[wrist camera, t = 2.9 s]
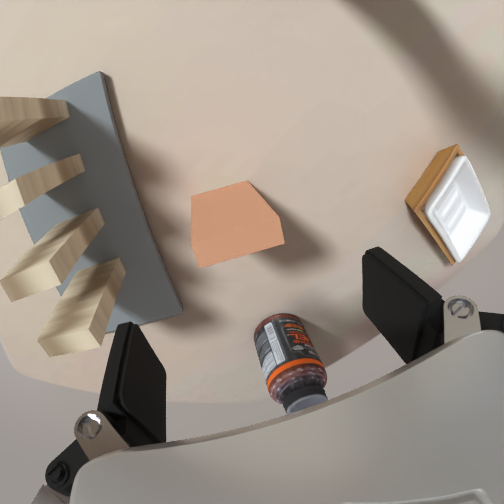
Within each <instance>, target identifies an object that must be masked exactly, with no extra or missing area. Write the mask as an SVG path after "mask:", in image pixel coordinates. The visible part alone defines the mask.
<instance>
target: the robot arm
mask: <svg viewBox="0 0 504 504" xmlns="http://www.w3.org/2000/svg"><path fill="white" fill-rule="evenodd" d="M362 274H363V310H364V313H365V314H366V315H367V317H368V318H369V319H370V320H371V321H372V323H373V324H374V325H375V326H376V327H377V329H378V330H379V331H380V332H381V334H382V335H383V336H384V337H385V338H386V340H387V341H388V342H389V343H390V345H391V346H392V347H393V348H394V349H395V351H396V352H397V353H398V355H399V356H400V357H401V358H402V359H403V361H404V362H405V363H406V365H405V366H402V367H401V368H399V369H397V370H395V371H393V372H391V373H389V374H387V375H385V376H383V377H381V378H379V379H376V380H374V381H372V382H370V383H368V384H366V385H363V386H361V387H359V388H357V389H354V390H352V391H350V392H347V393H345V394H342V395H340V396H338V397H335V398H333V399H330V400H327V401H325V402H322V403H319V404H317V405H314V406H311V407H308V408H306V409H303V410H300V411H297V412H294V413H291V414H288V415H285V416H281V417H278V418H275V419H271V420H268V421H265V422H261V423H258V424H254V425H250V426H246V427H242V428H239V429H234V430H230V431H225V432H221V433H217V434H211V435H206V436H201V437H195V438H189V439H185V440H178V441H172V442H166V371H165V369H164V367H163V365H162V364H161V362H160V361H159V359H158V357H157V356H156V354H155V353H154V351H153V349H152V348H151V346H150V344H149V343H148V341H147V339H146V338H145V336H144V334H143V333H142V331H141V329H140V328H139V326H138V325H137V324H133V323H132V322H131V321H130V322H126V323H122V324H119V325H118V326H117V328H116V332H115V336H114V339H113V343H112V347H111V350H110V354H109V358H108V362H107V366H106V371H105V375H104V379H103V384H102V388H101V393H100V398H99V403H98V408H97V411H96V410H91V411H88V412H85V413H84V414H82V415H81V416H80V417H79V418H78V420H77V421H76V423H75V427H74V434H75V437H76V440H75V441H74V442H73V443H72V444H71V445H69V447H67V448H66V449H65V450H64V451H63V452H62V453H61V454H60V455H59V456H58V457H56V458H55V459H54V460H53V461H52V462H51V463H50V464H49V465H48V467H47V469H46V474H45V478H46V482H47V485H46V486H45V485H42V487H41V488H40V490H39V492H38V494H37V495H36V497H35V498H34V501H33V502H32V504H504V314H496V313H487V312H478V308H477V305H476V304H475V303H474V301H472V300H471V299H469V298H467V297H465V296H453V297H450V298H448V299H447V300H446V301H444V300H442V299H441V298H442V296H441V295H440V294H439V293H438V292H436V291H435V290H434V289H433V288H432V287H430V286H429V285H428V284H427V283H425V282H424V281H423V280H422V279H421V278H419V277H418V276H417V275H416V274H414V273H413V272H412V271H410V270H409V269H408V268H407V267H405V266H404V265H403V264H401V263H400V262H399V261H398V260H396V259H395V258H394V257H392V256H391V255H390V254H388V253H387V252H386V251H384V250H383V249H382V248H380V247H375V248H372V249H369V250H367V251H366V252H365V255H363V257H362Z"/></svg>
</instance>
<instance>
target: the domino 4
mask: <svg viewBox="0 0 504 504" xmlns="http://www.w3.org/2000/svg"><path fill="white" fill-rule="evenodd" d="M125 274H126V270H125V268H124V266H123V264H122V262H121V260H120V258H119V257H118V258H115V259H112V260H109V261H106V262H103V263H100V264H97V265H94V266H91V267H88V268H85V269H82V270H79V271H77V272H76V274H75V275H74V277H73V278H72V280H71V282H70V283H69V285H68V287H67V288H66V290H65V291H64V293H63V295H62V297H61V298H60V300H59V302H58V303H57V305H56V307H55V309H54V310H53V312H52V314H51V316H50V318H49V320H48V321H47V323H46V325H45V327H44V329H43V331H42V333H41V335H40V337H39V339H38V342H39V344H40V345H41V346H42V348H43V349H44V350H45V351H46V353H47V354H48V355H49V357H51V356H57V355H63V354H68V353H74V352H79V351H84V350H89V349H94V348H99V347H101V345H102V342H103V338H104V335H105V332H106V329H107V325H108V322H109V319H110V316H111V313H112V310H113V307H114V304H115V301H116V298H117V295H118V293H119V290H120V287H121V284H122V282H123V279H124V276H125Z"/></svg>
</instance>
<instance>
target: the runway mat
mask: <svg viewBox="0 0 504 504" xmlns="http://www.w3.org/2000/svg"><path fill="white" fill-rule="evenodd" d="M46 99H55V100H65V101H66V102H67V107H68V111H69V115H70V117H69V118H67V119H65V120H64V121H62V122H60V123H58V124H56V125H54V126H52V127H51V128H49V129H47V130H45V131H44V132H42V133H40V134H39V135H37V136H35V137H34V138H32V139H30V140H29V141H27V142H23V143H19V144H15V145H11V146H7V147H3V148H0V150H1V154H2V158H3V162H4V165H5V169H6V172H7V175H8V178H9V182H11V181H12V180H14V179H16V178H18V177H20V176H22V175H25V174H27V173H29V172H32V171H34V170H37V169H39V168H41V167H44V166H47V165H49V164H52V163H54V162H57V161H60V160H63V159H65V158H68V157H71V156H74V155H77V154H80V155H81V158H82V161H83V164H84V167H85V171H84V172H82V173H80V174H78V175H76V176H75V177H73V178H71V179H69V180H67V181H65V182H63V183H62V184H60V185H58V186H56V187H55V188H53V189H51V190H49V191H48V192H46V193H44V194H43V195H41V196H39V197H38V198H36V199H35V200H33V201H31V202H30V203H28V204H27V205H25V206H23V207H22V208H20V209H19V210H20V212H21V215H22V217H23V220H24V222H25V225H26V227H27V230H28V232H29V234H30V236H31V239H32V241H33V243H34V245H35V244H36V243H37V242H38V241H39V240H40V239H41V238H42V237H43V236H44V235H45V234H46V233H47V232H49V231H50V230H51V229H52V228H53V227H54V226H55V225H57V224H59V223H62V222H64V221H66V220H68V219H71V218H73V217H75V216H78V215H80V214H83V213H85V212H87V211H90V210H92V209H95V208H97V207H99V210H100V212H101V215H102V217H103V220H104V222H105V224H104V226H103V227H102V228H101V229H100V231H99V232H98V233H97V235H96V236H95V237H94V239H93V240H92V241H91V243H90V244H89V245H88V247H87V248H86V250H85V251H84V252H83V254H82V255H81V257H80V258H79V259H78V261H77V262H76V264H75V265H74V267H73V268H72V270H71V271H70V273H69V274H68V276H67V277H66V279H65V280H64V282H63V283H62V285H59V286H56V288H57V290H58V292H59V293H60V295H61V297H62V295H63V293H64V291H65V290H66V288H67V287H68V285H69V283H70V282H71V280H72V278H73V277H74V275H75V274H76V272H77V271H79V270H82V269H85V268H88V267H91V266H94V265H97V264H100V263H103V262H106V261H109V260H112V259H115V258H118V257H119V258H120V260H121V262H122V264H123V266H124V268H125V270H126V274H125V276H124V279H123V282H122V284H121V287H120V290H119V293H118V295H117V298H116V301H115V304H114V307H113V310H112V313H111V316H110V319H109V322H108V325H107V329H106V332H105V333H107V332H111V331H115V330H116V328H117V326H118V325H119V324H122V323H126V322H130V321H131V322H132V323H133V324H137V325H140V324H144V323H148V322H152V321H156V320H160V319H164V318H168V317H171V316H175V315H179V314H183V307H182V305H181V303H180V301H179V298H178V296H177V294H176V292H175V289H174V287H173V285H172V282H171V280H170V278H169V275H168V273H167V271H166V268H165V266H164V263H163V261H162V258H161V256H160V253H159V251H158V248H157V246H156V243H155V241H154V238H153V236H152V233H151V230H150V228H149V225H148V222H147V220H146V217H145V214H144V212H143V209H142V206H141V203H140V200H139V197H138V195H137V192H136V189H135V186H134V183H133V180H132V177H131V174H130V171H129V167H128V164H127V161H126V158H125V155H124V151H123V148H122V145H121V141H120V138H119V134H118V131H117V127H116V123H115V120H114V116H113V112H112V108H111V104H110V100H109V96H108V92H107V88H106V84H105V79H104V75H103V72H101V71H98V72H96V73H94V74H91V75H89V76H87V77H85V78H83V79H81V80H79V81H77V82H75V83H73V84H71V85H69V86H67V87H65V88H64V89H62V90H60V91H58V92H56V93H54V94H53V95H51V96H49V97H48V98H46Z"/></svg>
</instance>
